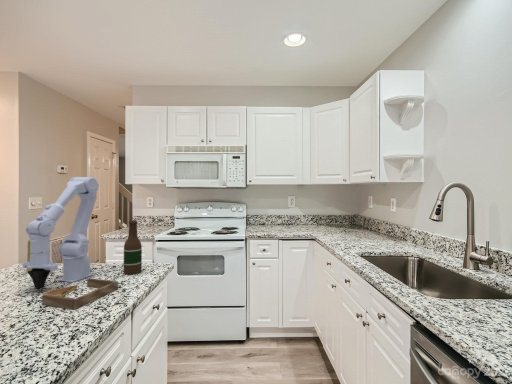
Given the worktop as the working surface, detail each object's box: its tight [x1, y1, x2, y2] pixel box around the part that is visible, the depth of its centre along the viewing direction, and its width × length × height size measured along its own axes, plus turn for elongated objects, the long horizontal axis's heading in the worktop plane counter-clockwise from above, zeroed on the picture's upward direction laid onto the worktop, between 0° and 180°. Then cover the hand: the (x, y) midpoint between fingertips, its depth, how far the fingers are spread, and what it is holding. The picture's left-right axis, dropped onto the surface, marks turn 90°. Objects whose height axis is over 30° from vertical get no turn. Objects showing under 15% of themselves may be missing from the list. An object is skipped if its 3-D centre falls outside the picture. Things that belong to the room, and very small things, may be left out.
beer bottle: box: [123, 219, 143, 276], centre depth 121 cm, size 8×8×24 cm
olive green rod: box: [25, 239, 32, 273], centre depth 122 cm, size 6×6×14 cm
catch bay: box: [41, 277, 119, 310], centre depth 93 cm, size 18×14×3 cm
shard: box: [42, 284, 79, 297], centre depth 96 cm, size 11×8×2 cm
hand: (39, 288), depth 98 cm, fingers closed
